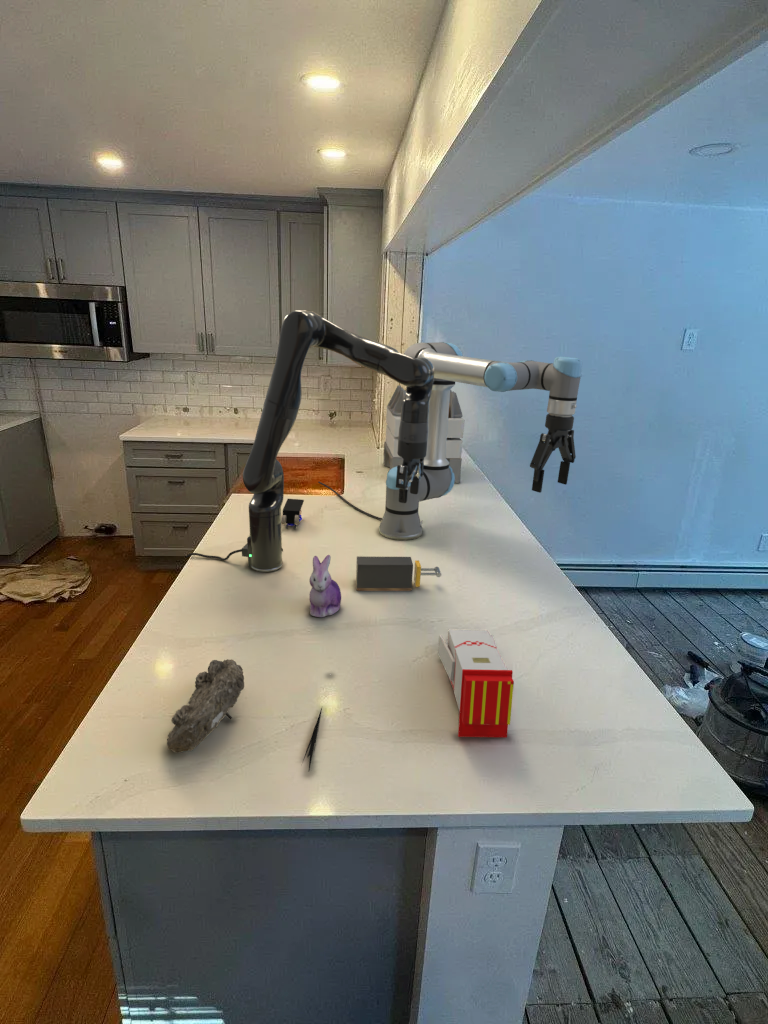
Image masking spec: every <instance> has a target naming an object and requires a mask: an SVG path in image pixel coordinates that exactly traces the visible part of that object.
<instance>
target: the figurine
mask: <svg viewBox="0 0 768 1024" xmlns="http://www.w3.org/2000/svg"><path fill="white" fill-rule="evenodd" d="M331 557H332V556H331V554H327V555H326V556H325V557H324V558H323V560H322V561H320V559H319V557H318V556H317V555H314V556H313V557H312V572H311V574H310V577H309V585H310V586H311V589H310V591H309V598H308V599H309V604H310V605H309V612H310V613H309V614H310V616H313V617H316V618H325V617H326V616H332V615H334V614H336V613H337V612H339V610H340V609H341V602H342V593H341V588H340V586H339V584H338V583H337V581H335V580H334V579H332V576H331V573H330V572H329V567H330V565H331Z"/></svg>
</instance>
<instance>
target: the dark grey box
mask: <svg viewBox="0 0 768 1024" xmlns="http://www.w3.org/2000/svg"><path fill="white" fill-rule="evenodd" d="M355 565H356V569H355V586H356V587H355V589H356V591H357V592H358V591H359V592H362V591H365V592H366V591H368V592H369V591H370V592H371V591H373V592H375V591H376V592H380V591H382V592H383V591H384V592H386V591H387V592H389V591H390V592H391V591H392V592H394V591H395V592H396V591H398V592H400V591H403V592H404V591H405V592H411V591H412V589H413V576H414V562H413V559H412V556H360V555H359V556H358V555H357V556H356V564H355Z"/></svg>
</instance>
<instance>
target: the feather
mask: <svg viewBox="0 0 768 1024" xmlns="http://www.w3.org/2000/svg"><path fill="white" fill-rule="evenodd" d="M329 675H330V676H331V675H332V674H331V673H330V674H329ZM322 710H323V707H321V708H320V710H319V713H318V716H317V719H316V723H315V725H314V728H313V731H312V733H311V737H310V739H309V742H308V745H307V748H306V751H305V754H304V757H303V760H302V763H301V767H302V765H303V763H304V761H305V758H308V759H309V760H308V762H307V763H308V764H307V766H308V771H310V770H311V766H312V765H311V764H312V760H313V757H315V756H314V755H315V751H316V749H315V746H317V739H318V733H319V729H320V722H321V717H322V712H323V711H322ZM313 754H314V755H313ZM306 755H307V757H306Z"/></svg>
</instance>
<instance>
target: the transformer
mask: <svg viewBox="0 0 768 1024" xmlns="http://www.w3.org/2000/svg"><path fill="white" fill-rule="evenodd" d="M405 395H406V389H404V388H403V387H402V385H399V384H398V385H397V386H396V388H395V390H394V392H393V394H392V395H391V398H390V400H389V402H388V404H387V405H386V413H385V414H386V415H385V423H386V428H385V438H384V442H383V466H384V467H388V468H389V470H390V469H392V468H394V467H397V466H398V465H402V463H403V458H402V457H400V456H399V455H398V454H397V452H398V436H399V426H400V420H401V406H402V401H403V399H404V397H405ZM464 429H465V419H464V418H463V411H462V408H461V405H460V402H459V398H458V395H457V392H455V391H453V390H452V389H450V401H449V414H448V428H447V442H446V455H445V458H446V459H447V460H448V461H449V466H450V467H451V468H452V470H453V471H452V472H453V473H454V476H455V481H454V484H455V483H456V484H459V483H461V472H462V461H463V460H462V453H463V442H464V441H463V440H462V439H463V438H464V431H465V430H464Z"/></svg>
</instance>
